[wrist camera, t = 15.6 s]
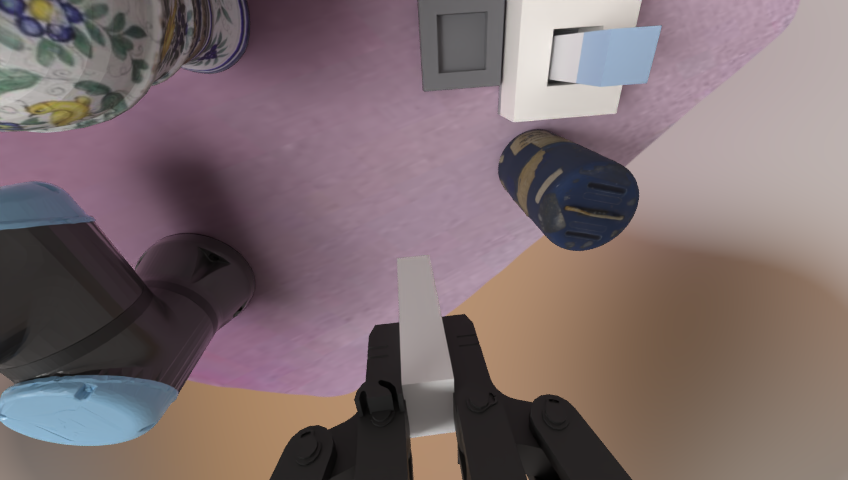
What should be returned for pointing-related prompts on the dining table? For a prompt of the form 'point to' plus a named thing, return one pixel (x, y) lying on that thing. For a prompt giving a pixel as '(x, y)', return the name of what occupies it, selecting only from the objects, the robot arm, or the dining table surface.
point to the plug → (604, 56)
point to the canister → (568, 189)
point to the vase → (106, 55)
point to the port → (531, 49)
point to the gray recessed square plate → (460, 43)
